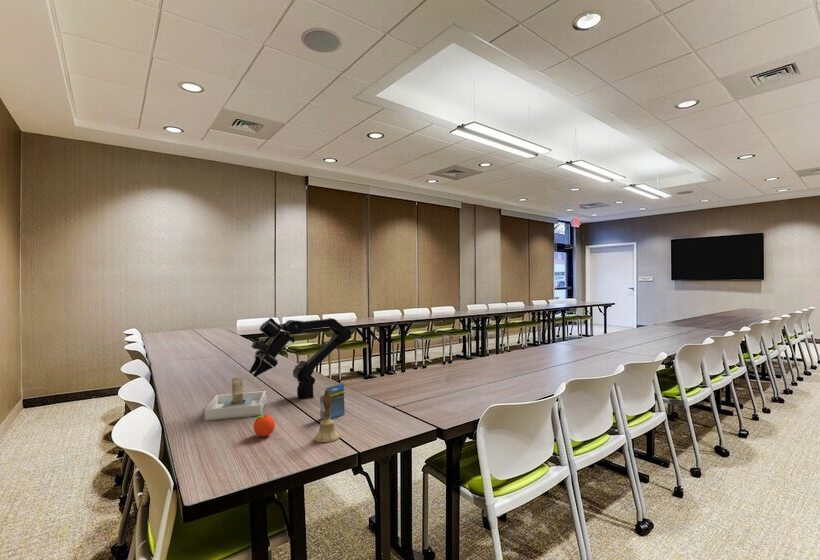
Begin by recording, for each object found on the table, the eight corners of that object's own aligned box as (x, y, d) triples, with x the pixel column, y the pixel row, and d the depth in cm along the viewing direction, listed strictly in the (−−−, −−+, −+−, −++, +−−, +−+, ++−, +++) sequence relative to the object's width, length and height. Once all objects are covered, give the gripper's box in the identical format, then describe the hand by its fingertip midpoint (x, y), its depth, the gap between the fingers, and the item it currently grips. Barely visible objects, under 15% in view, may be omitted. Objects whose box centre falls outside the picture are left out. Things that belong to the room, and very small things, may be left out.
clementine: (249, 441, 129) (248, 420, 129) (251, 433, 136) (250, 413, 136) (274, 438, 131) (274, 417, 131) (275, 430, 138) (275, 410, 138)
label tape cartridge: (338, 412, 156) (338, 381, 156) (345, 414, 153) (344, 383, 153) (320, 418, 149) (319, 386, 149) (326, 421, 146) (325, 388, 146)
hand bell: (329, 431, 137) (328, 385, 137) (345, 436, 132) (344, 389, 131) (309, 438, 130) (308, 390, 130) (325, 445, 125) (324, 395, 125)
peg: (245, 406, 162) (244, 377, 162) (236, 409, 158) (236, 380, 158) (239, 405, 164) (238, 376, 164) (230, 408, 160) (229, 379, 160)
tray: (266, 400, 173) (266, 391, 173) (261, 415, 154) (260, 405, 154) (216, 404, 168) (216, 395, 168) (204, 420, 149) (204, 410, 149)
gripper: (258, 331, 175) (233, 360, 169) (267, 334, 160) (240, 366, 154) (277, 346, 179) (253, 375, 174) (288, 351, 164) (262, 382, 158)
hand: (252, 374), depth 164 cm, fingers open, 9 cm apart
